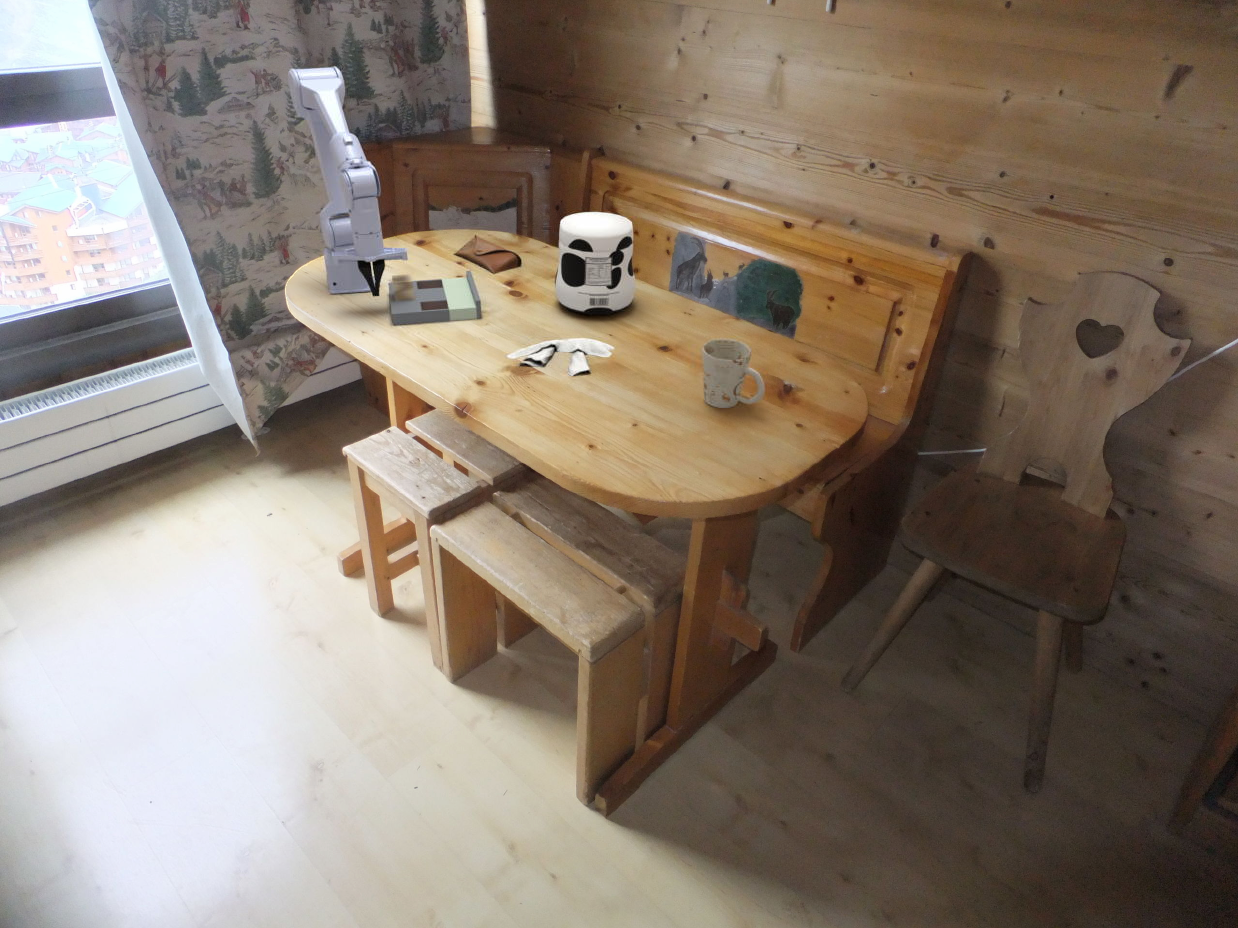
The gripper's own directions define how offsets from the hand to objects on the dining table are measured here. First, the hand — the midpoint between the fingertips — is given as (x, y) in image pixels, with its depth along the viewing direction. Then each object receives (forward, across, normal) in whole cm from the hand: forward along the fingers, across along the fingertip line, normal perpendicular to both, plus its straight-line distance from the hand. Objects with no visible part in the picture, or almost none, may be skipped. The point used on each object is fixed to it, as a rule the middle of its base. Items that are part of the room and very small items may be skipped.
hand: (375, 294), depth 168 cm
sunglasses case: (+4, +26, +26) cm, 37 cm away
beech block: (+1, +6, 0) cm, 6 cm away
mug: (+4, +59, -53) cm, 79 cm away
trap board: (+3, +11, 0) cm, 11 cm away
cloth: (+4, +33, -30) cm, 45 cm away
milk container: (+4, +46, -6) cm, 46 cm away
